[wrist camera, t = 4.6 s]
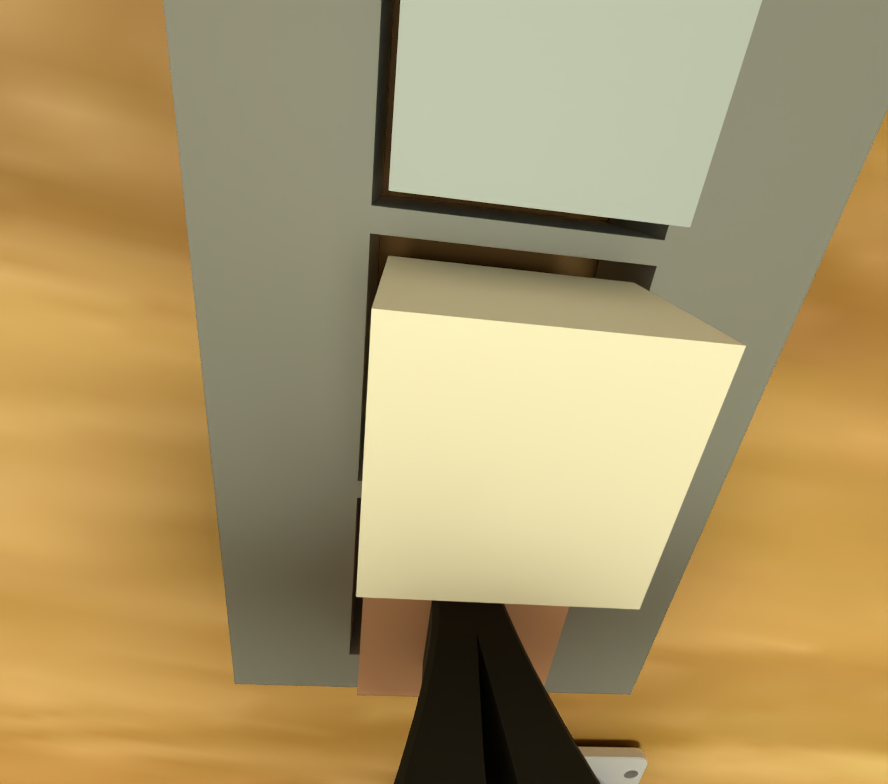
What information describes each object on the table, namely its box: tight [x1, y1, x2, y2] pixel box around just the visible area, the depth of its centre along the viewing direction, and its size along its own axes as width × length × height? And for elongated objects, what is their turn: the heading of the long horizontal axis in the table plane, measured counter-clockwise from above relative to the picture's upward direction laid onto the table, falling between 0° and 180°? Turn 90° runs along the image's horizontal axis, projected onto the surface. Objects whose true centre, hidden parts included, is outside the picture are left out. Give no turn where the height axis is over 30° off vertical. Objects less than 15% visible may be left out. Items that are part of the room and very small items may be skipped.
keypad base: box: [163, 0, 888, 695], centre depth 10 cm, size 17×10×2 cm, turn 173°
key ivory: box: [356, 256, 746, 609], centre depth 7 cm, size 4×4×3 cm
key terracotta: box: [357, 597, 569, 697], centre depth 11 cm, size 4×4×3 cm
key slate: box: [389, 0, 762, 227], centre depth 7 cm, size 4×4×3 cm
